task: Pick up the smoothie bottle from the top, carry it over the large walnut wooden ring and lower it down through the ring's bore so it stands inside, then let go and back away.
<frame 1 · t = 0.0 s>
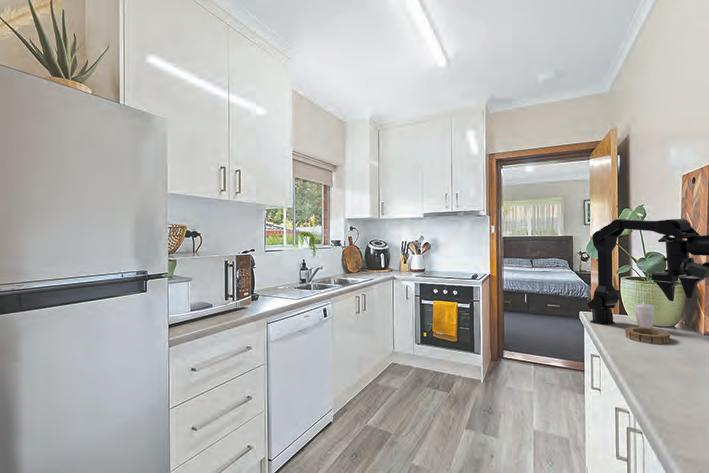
hand: (680, 299, 115), 15 cm above the countertop, tool pointing down, fingers open, 9 cm apart
walnut ring: (647, 338, 121), on the countertop
smoothie: (645, 330, 130), on the countertop
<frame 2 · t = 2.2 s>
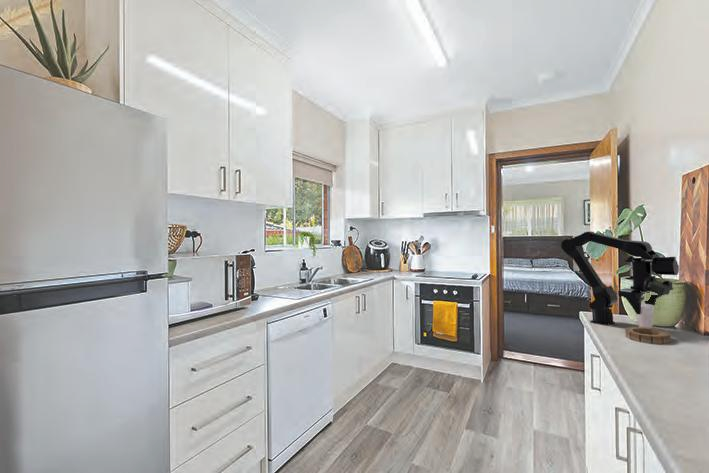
hand: (644, 313, 130), 7 cm above the countertop, tool pointing down, fingers closed on smoothie, 6 cm apart
smoothie: (645, 330, 130), on the countertop, touching gripper
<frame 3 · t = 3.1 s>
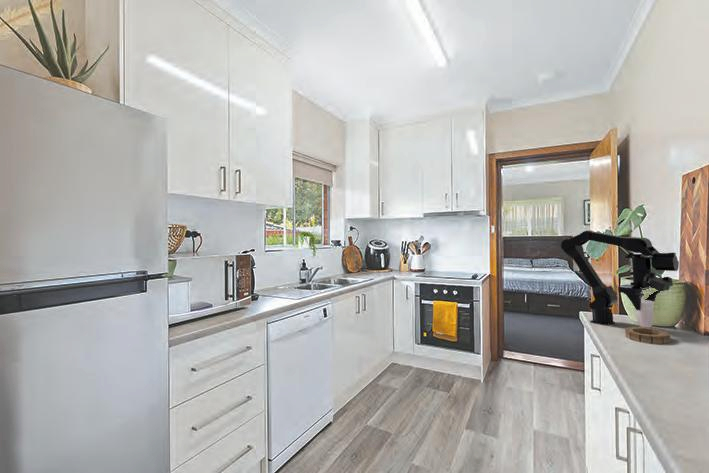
hand: (644, 309, 130), 8 cm above the countertop, tool pointing down, fingers closed on smoothie, 6 cm apart
smoothie: (645, 326, 130), point 1 cm above the countertop, touching gripper
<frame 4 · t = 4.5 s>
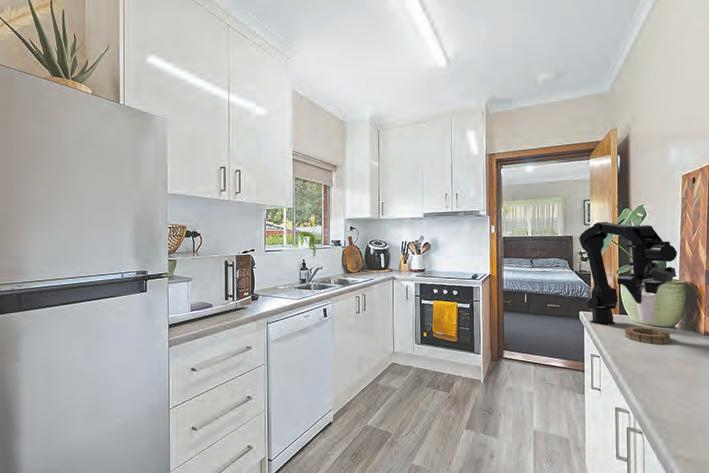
hand: (645, 302, 121), 13 cm above the countertop, tool pointing down, fingers closed on smoothie, 6 cm apart
smoothie: (646, 320, 121), point 6 cm above the countertop, touching gripper
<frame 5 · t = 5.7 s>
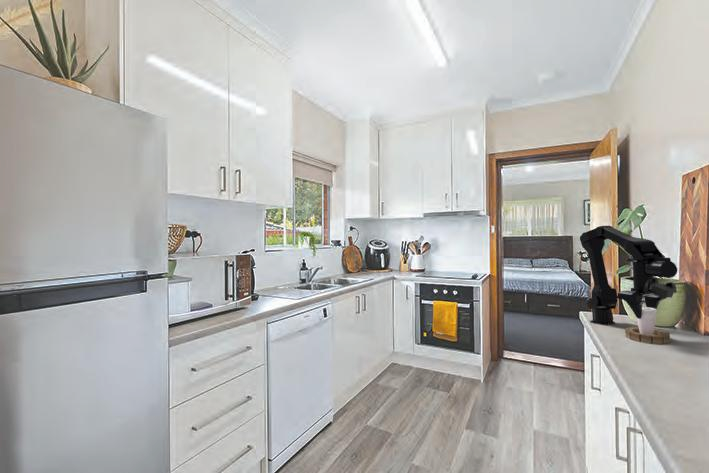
hand: (645, 317, 121), 8 cm above the countertop, tool pointing down, fingers closed on smoothie, 6 cm apart
smoothie: (646, 335, 121), point 1 cm above the countertop, touching gripper
when the fingers open (7 cm above the countertop, at t = 6.6 s): smoothie stays where it is, resting in walnut ring.
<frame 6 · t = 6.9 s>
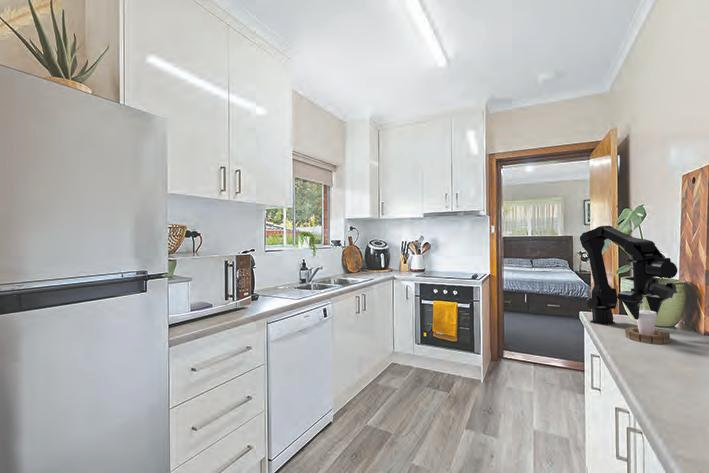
hand: (645, 317, 121), 7 cm above the countertop, tool pointing down, fingers open, 9 cm apart
smoothie: (646, 338, 121), resting in walnut ring
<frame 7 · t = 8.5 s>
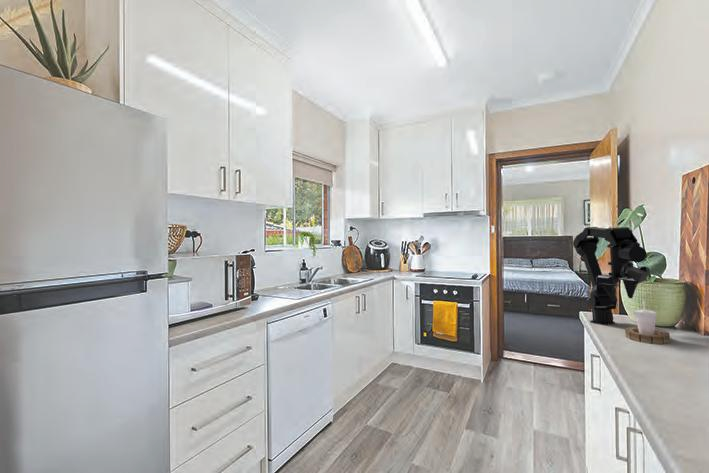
hand: (622, 299, 128), 13 cm above the countertop, tool pointing down, fingers open, 9 cm apart
nothing on the countertop moved.
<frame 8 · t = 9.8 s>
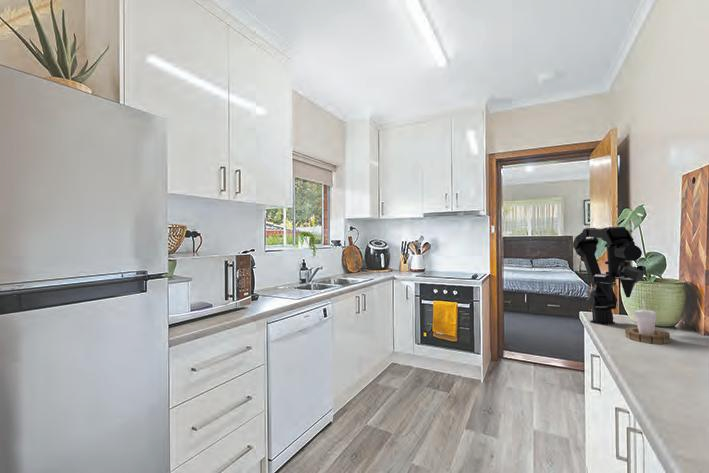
hand: (619, 298, 129), 13 cm above the countertop, tool pointing down, fingers open, 9 cm apart
nothing on the countertop moved.
at the end: smoothie 0.1 cm from the walnut ring (horizontally); smoothie tilted 0°; the gripper is holding nothing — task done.
